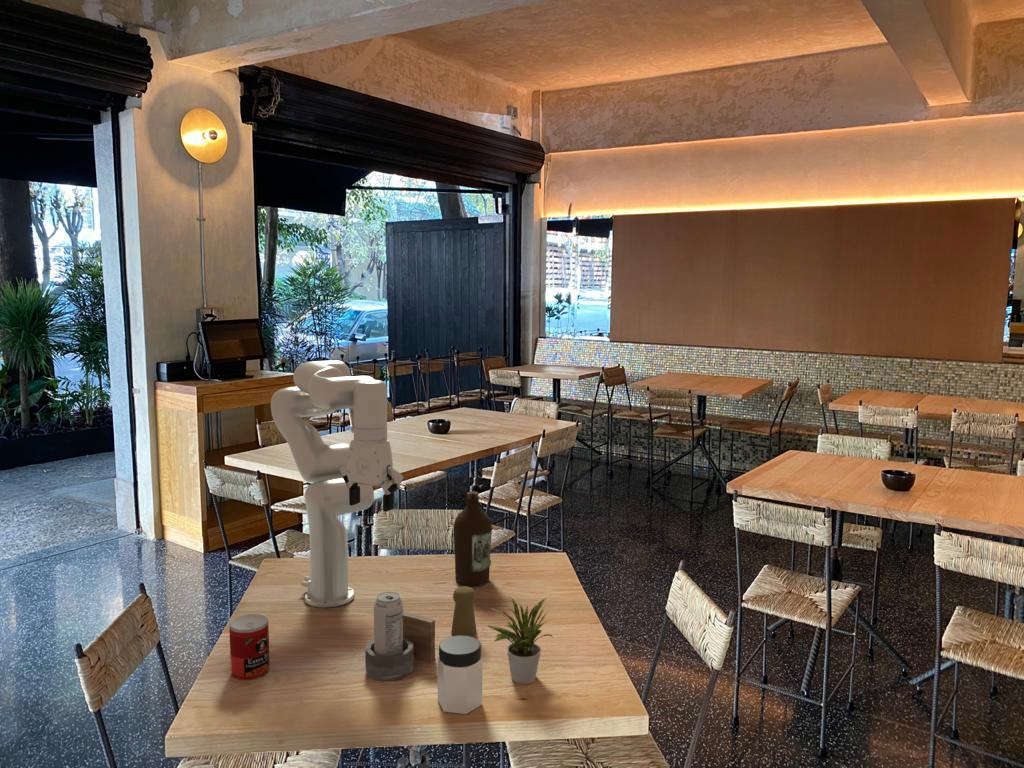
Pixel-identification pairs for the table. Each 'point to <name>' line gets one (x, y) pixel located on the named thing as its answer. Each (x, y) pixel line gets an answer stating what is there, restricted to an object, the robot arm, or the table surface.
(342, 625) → the table surface
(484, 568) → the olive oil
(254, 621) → the canned food
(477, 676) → the jar
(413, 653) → the cup bracket
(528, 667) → the house plant
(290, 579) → the table surface
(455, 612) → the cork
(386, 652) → the energy drink can
